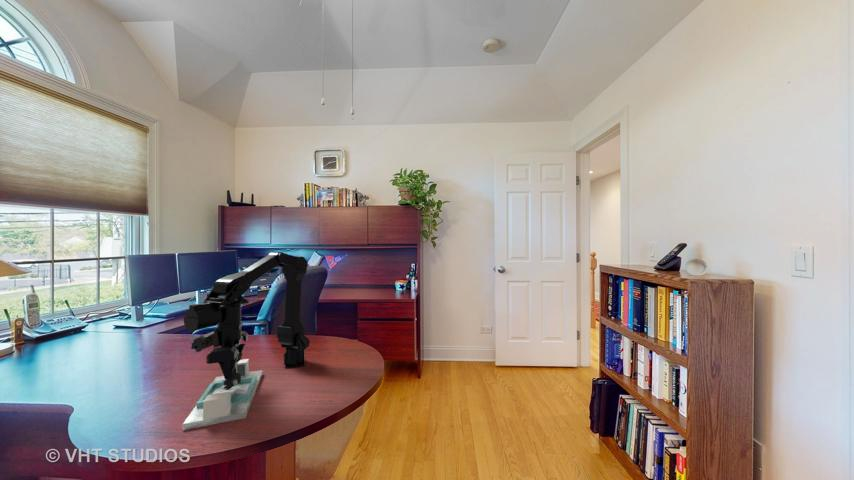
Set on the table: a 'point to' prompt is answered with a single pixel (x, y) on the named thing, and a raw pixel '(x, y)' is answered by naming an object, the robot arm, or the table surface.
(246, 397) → the teal-edged white tray
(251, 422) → the table surface
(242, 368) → the white padded clamp jaws
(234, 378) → the push button
